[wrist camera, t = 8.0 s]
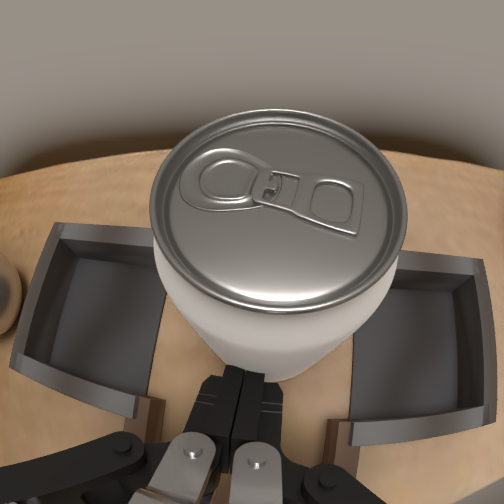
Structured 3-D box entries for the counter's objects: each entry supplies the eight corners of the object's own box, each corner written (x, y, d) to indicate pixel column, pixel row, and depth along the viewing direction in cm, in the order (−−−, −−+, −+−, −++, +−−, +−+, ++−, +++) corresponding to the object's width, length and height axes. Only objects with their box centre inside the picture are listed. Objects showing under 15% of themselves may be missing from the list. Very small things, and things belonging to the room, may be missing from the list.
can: (233, 264, 19) (203, 88, 8) (335, 291, 17) (416, 132, 7) (196, 362, 16) (77, 273, 5) (308, 396, 15) (415, 376, 4)
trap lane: (29, 441, 12) (-10, 440, 9) (101, 183, 23) (82, 150, 19) (456, 494, 10) (492, 504, 6) (445, 210, 20) (467, 179, 17)
